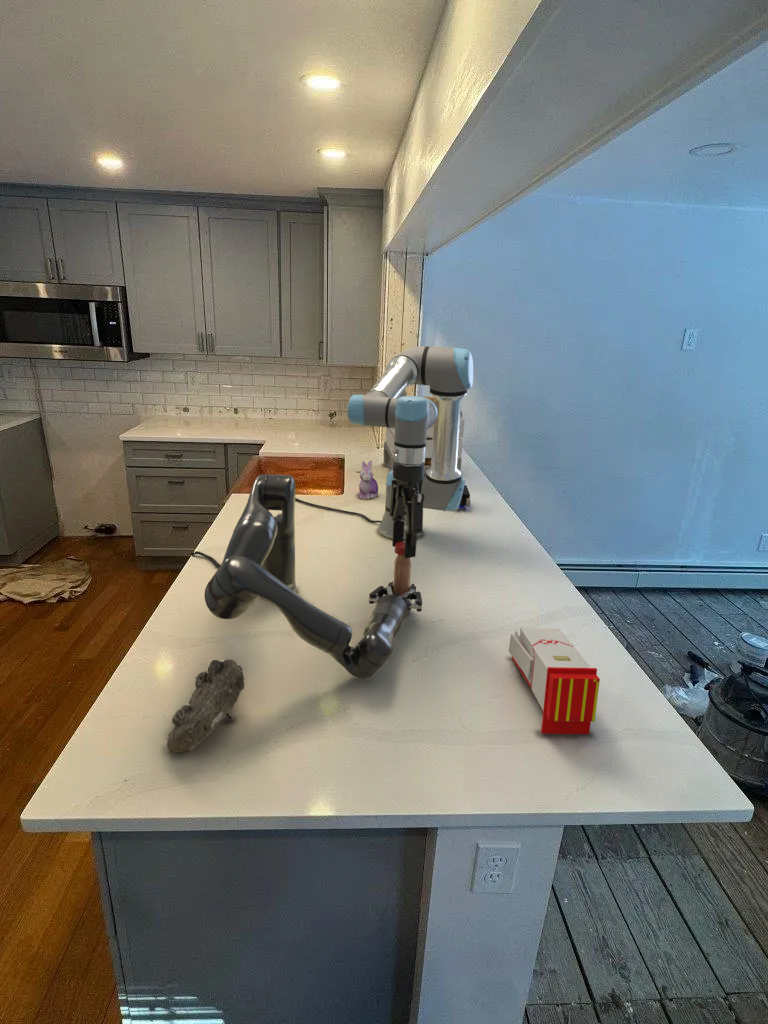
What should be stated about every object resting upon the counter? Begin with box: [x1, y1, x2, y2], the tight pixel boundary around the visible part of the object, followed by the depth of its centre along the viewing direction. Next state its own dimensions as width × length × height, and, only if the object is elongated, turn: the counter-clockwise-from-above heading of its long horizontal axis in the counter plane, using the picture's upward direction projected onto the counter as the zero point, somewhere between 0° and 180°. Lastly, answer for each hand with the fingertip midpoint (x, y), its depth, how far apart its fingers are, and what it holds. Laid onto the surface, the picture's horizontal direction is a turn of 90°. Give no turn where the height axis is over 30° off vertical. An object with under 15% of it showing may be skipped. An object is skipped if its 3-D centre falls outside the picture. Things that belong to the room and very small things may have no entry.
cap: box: [394, 541, 405, 556], centre depth 143 cm, size 4×4×2 cm
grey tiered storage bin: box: [383, 389, 465, 473], centre depth 268 cm, size 34×33×41 cm
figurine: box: [358, 460, 379, 500], centre depth 236 cm, size 9×10×15 cm
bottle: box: [392, 554, 413, 615], centre depth 146 cm, size 4×4×18 cm
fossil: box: [166, 658, 245, 754], centre depth 106 cm, size 22×10×15 cm
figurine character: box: [456, 484, 471, 512], centre depth 229 cm, size 7×8×15 cm
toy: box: [508, 627, 601, 735], centre depth 119 cm, size 12×13×30 cm
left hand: (403, 585), depth 149 cm, fingers closed on bottle, 4 cm apart
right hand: (403, 551), depth 143 cm, fingers open, 7 cm apart
